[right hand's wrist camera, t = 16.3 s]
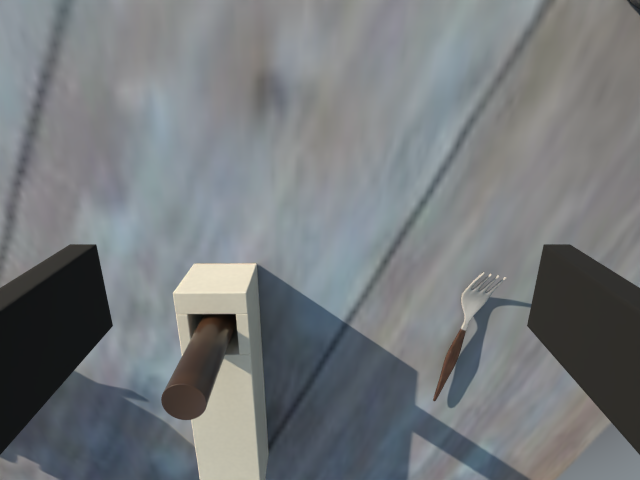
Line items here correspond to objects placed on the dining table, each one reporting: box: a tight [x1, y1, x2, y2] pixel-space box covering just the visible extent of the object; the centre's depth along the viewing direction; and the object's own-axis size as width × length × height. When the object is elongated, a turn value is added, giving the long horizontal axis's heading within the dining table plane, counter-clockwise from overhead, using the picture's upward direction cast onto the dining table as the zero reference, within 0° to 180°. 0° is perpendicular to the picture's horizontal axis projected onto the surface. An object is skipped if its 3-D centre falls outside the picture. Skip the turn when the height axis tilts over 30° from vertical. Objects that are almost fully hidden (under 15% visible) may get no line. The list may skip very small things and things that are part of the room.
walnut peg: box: [161, 314, 237, 420], centre depth 34 cm, size 3×3×14 cm
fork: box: [433, 272, 506, 401], centre depth 41 cm, size 3×16×2 cm, turn 167°
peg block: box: [173, 264, 269, 480], centre depth 40 cm, size 6×24×6 cm, turn 0°
